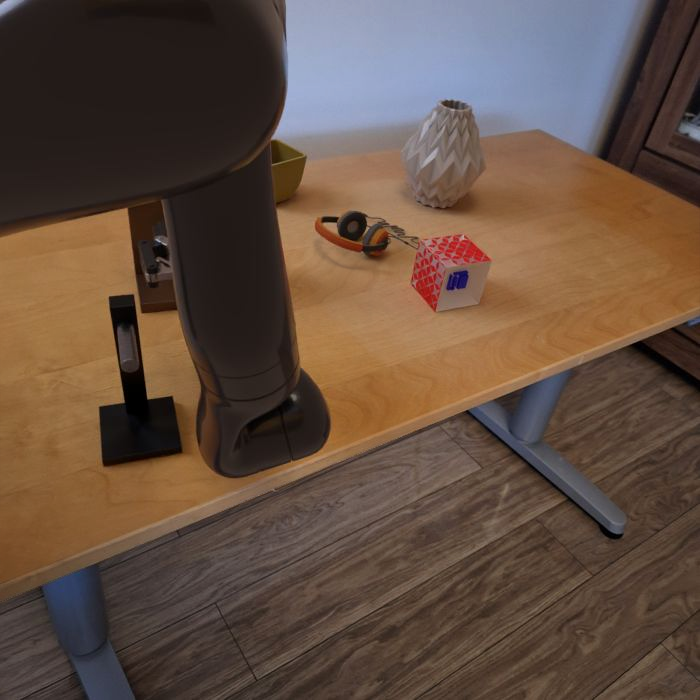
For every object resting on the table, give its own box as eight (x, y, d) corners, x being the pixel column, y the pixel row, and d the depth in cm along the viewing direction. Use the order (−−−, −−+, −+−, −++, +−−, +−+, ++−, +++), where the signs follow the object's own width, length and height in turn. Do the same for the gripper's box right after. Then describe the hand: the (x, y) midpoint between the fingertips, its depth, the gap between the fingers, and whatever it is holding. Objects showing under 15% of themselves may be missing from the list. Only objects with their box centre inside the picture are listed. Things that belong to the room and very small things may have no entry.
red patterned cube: (452, 276, 101) (463, 234, 96) (478, 304, 96) (492, 260, 91) (409, 283, 98) (419, 239, 93) (434, 312, 93) (445, 267, 88)
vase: (420, 174, 132) (438, 84, 120) (488, 202, 125) (514, 109, 113) (377, 196, 121) (392, 99, 109) (449, 227, 114) (473, 128, 102)
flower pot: (305, 201, 116) (308, 154, 110) (269, 213, 110) (271, 165, 105) (274, 183, 120) (276, 137, 114) (238, 194, 115) (238, 147, 109)
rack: (141, 313, 84) (121, 152, 70) (135, 273, 91) (116, 119, 77) (257, 301, 89) (261, 149, 75) (242, 264, 96) (243, 118, 82)
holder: (103, 466, 64) (79, 352, 54) (99, 411, 70) (77, 298, 60) (182, 452, 67) (173, 340, 57) (172, 400, 72) (162, 290, 63)
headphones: (446, 237, 105) (367, 243, 92) (435, 265, 108) (356, 274, 94) (378, 198, 114) (297, 197, 100) (370, 224, 117) (289, 228, 103)
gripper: (297, 267, 61) (259, 193, 72) (146, 279, 56) (131, 198, 68) (292, 327, 66) (257, 249, 77) (152, 343, 61) (138, 257, 72)
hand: (198, 225), depth 72 cm, fingers open, 8 cm apart
